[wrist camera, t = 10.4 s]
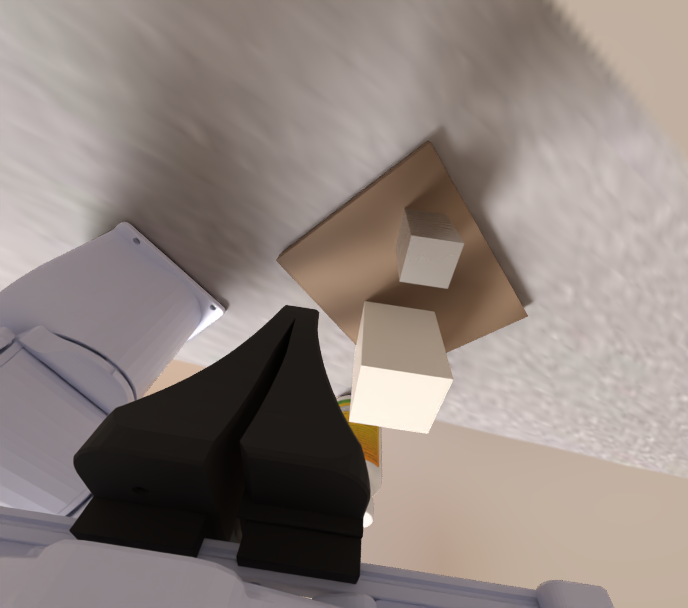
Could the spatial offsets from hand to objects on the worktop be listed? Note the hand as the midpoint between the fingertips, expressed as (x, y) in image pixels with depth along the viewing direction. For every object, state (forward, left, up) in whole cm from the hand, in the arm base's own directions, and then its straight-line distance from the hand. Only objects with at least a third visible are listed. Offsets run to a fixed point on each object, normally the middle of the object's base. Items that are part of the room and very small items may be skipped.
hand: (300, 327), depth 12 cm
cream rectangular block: (+9, -1, -9) cm, 13 cm away
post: (+3, +5, -9) cm, 11 cm away
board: (+6, +2, -10) cm, 12 cm away
